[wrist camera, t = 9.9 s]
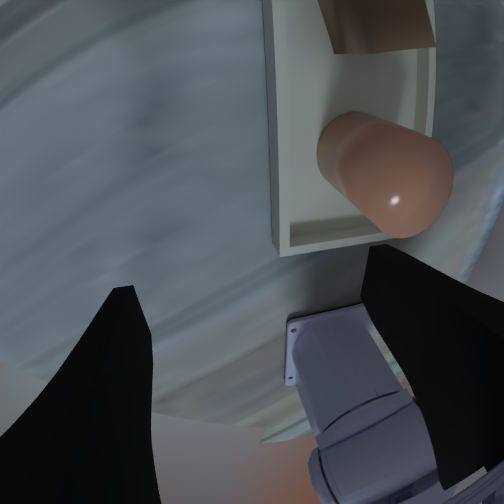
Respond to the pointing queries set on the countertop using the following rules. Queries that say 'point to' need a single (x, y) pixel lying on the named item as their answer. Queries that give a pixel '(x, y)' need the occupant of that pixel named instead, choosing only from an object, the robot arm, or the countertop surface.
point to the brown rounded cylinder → (386, 171)
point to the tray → (329, 119)
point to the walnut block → (377, 25)
